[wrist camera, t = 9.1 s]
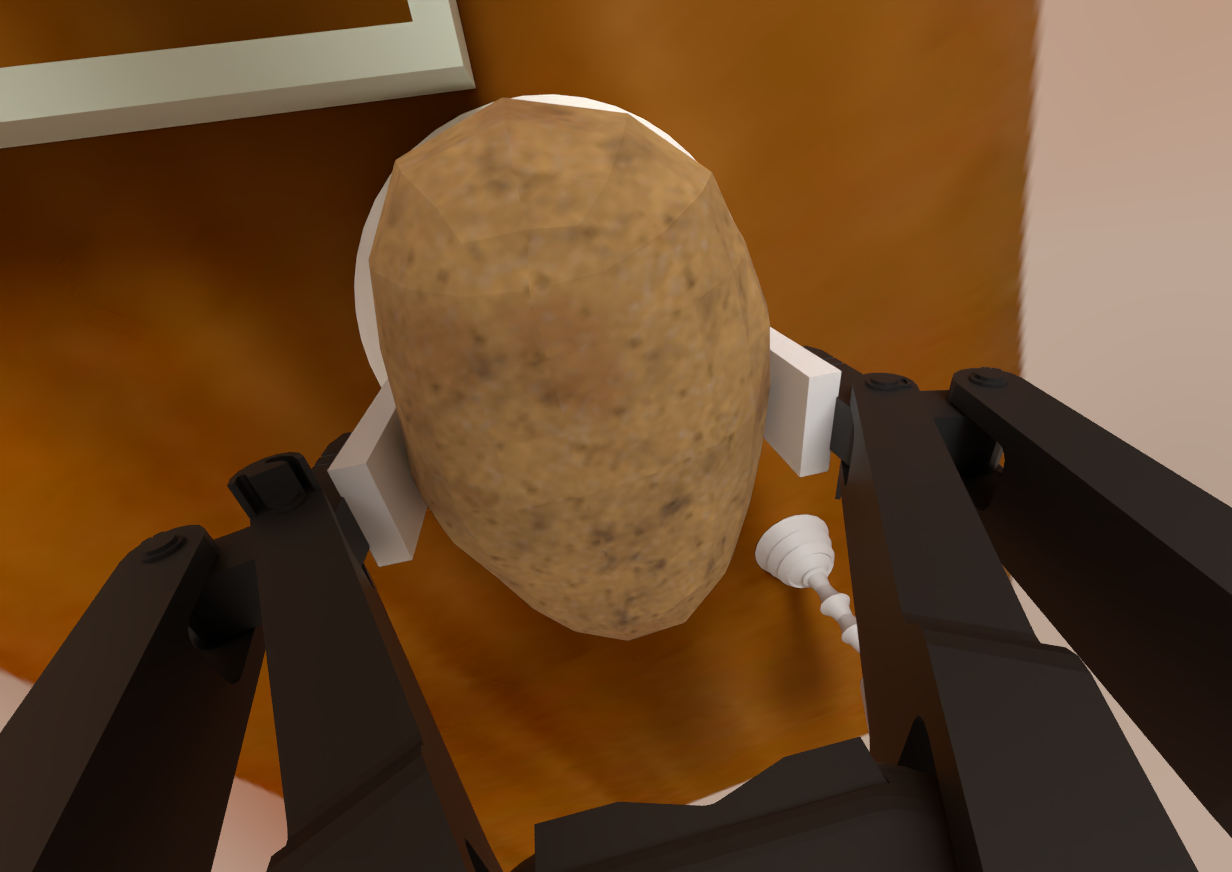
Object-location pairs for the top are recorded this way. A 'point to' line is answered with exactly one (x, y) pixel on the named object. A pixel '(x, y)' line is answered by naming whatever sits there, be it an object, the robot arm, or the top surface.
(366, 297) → the plate
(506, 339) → the potato
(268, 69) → the crate
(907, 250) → the top surface
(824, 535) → the chalice
